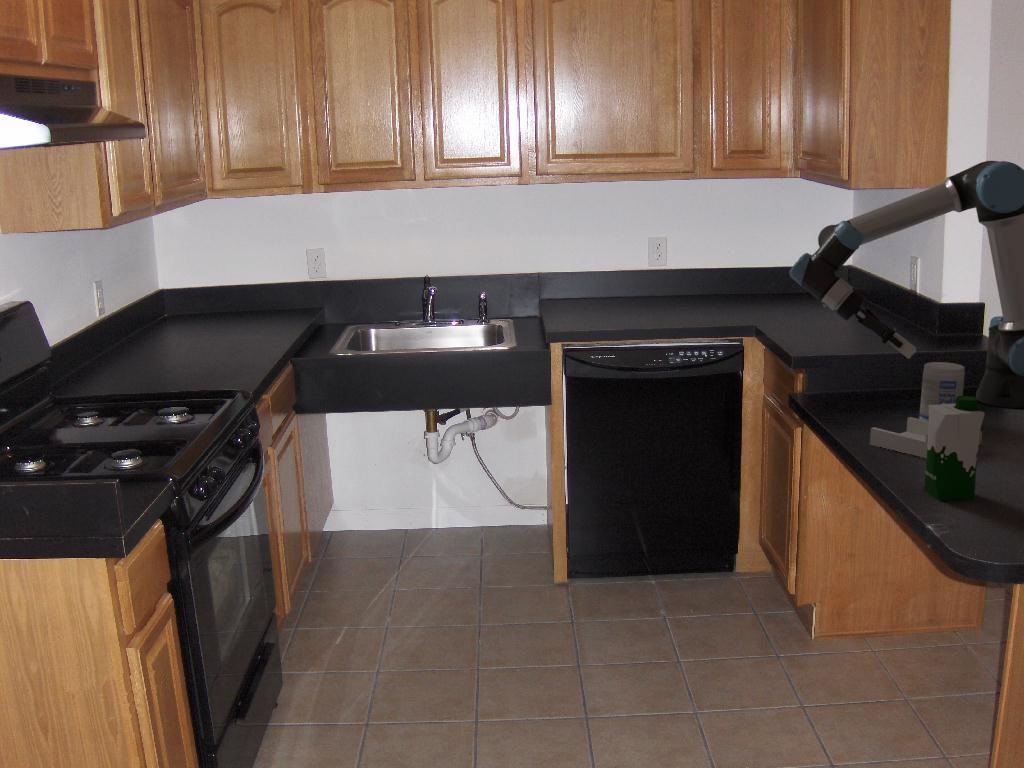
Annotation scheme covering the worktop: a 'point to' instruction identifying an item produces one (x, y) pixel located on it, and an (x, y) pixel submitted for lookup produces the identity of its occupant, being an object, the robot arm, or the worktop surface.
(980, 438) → the clip
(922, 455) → the end holder
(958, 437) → the milk carton
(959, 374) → the supplement tub
